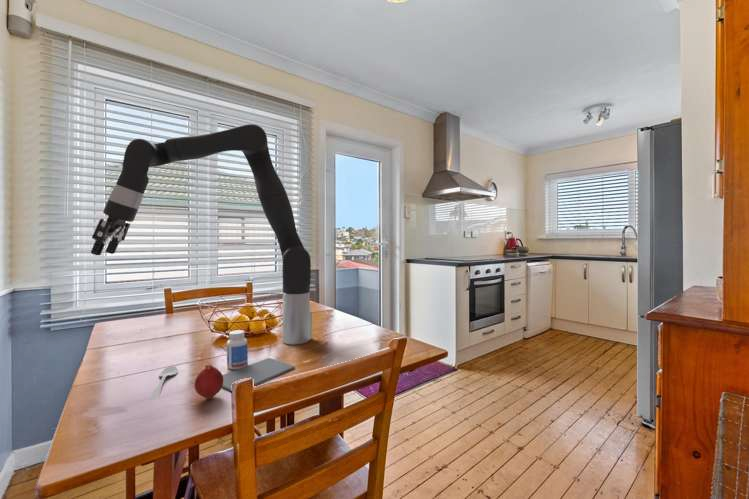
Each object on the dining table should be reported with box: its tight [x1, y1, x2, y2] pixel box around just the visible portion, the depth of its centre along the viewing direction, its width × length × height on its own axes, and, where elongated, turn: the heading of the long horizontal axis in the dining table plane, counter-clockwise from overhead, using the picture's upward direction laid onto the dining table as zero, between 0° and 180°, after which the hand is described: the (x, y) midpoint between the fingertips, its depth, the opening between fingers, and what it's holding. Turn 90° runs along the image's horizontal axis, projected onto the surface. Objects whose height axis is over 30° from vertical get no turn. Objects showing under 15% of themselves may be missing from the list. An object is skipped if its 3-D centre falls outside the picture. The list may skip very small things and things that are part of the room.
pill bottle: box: [226, 329, 249, 370], centre depth 92 cm, size 6×5×10 cm
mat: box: [221, 357, 296, 393], centre depth 86 cm, size 18×11×1 cm, turn 146°
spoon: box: [148, 365, 179, 401], centre depth 80 cm, size 4×21×2 cm, turn 20°
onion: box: [194, 363, 224, 400], centre depth 73 cm, size 6×6×8 cm
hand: (102, 253), depth 97 cm, fingers open, 8 cm apart
